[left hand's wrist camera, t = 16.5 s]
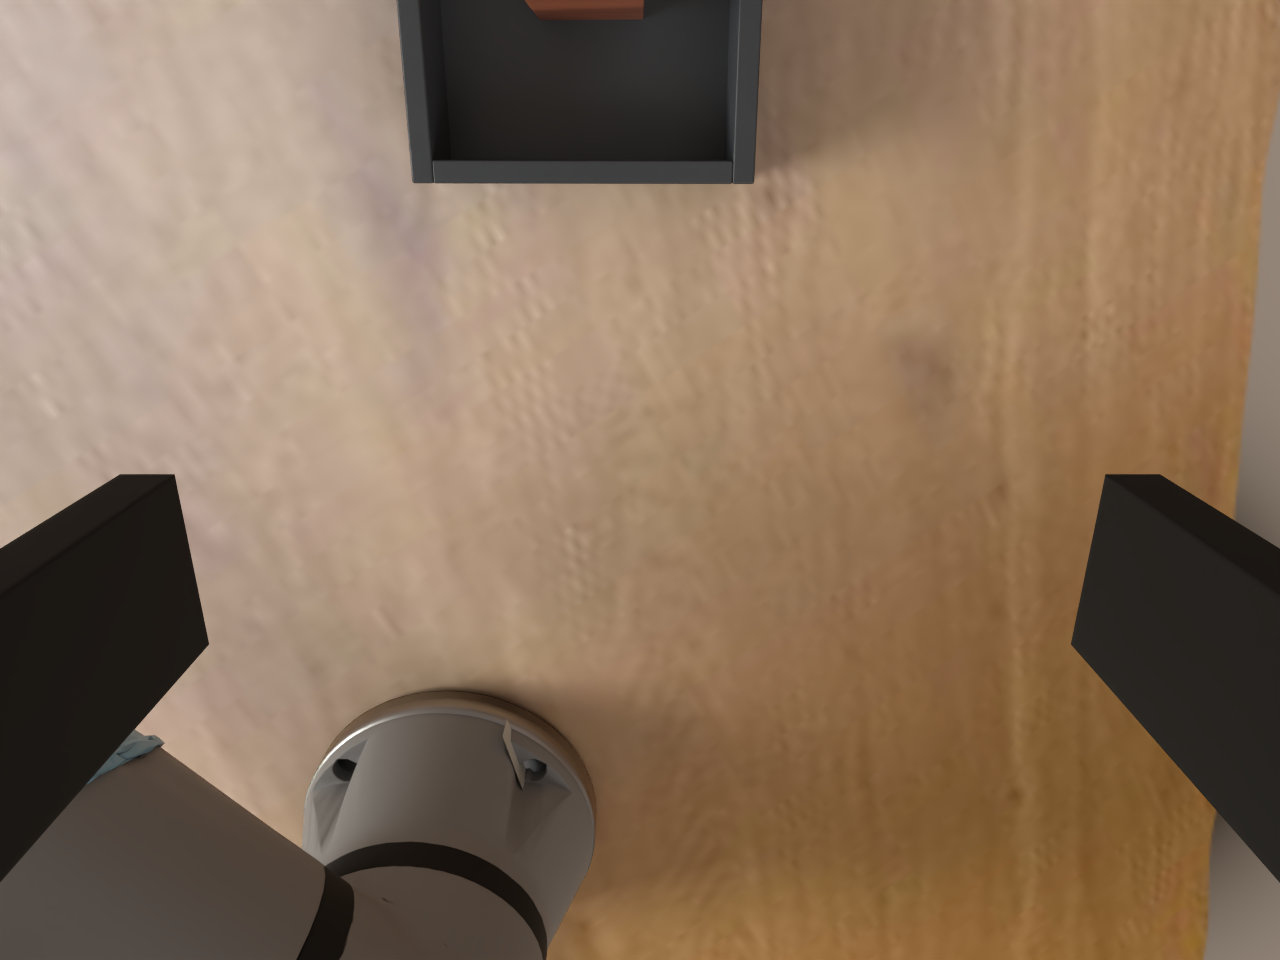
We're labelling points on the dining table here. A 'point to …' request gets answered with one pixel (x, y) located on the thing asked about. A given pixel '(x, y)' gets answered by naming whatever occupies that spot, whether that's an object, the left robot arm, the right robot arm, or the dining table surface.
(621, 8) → the block
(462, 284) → the dining table surface
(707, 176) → the tray
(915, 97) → the dining table surface
